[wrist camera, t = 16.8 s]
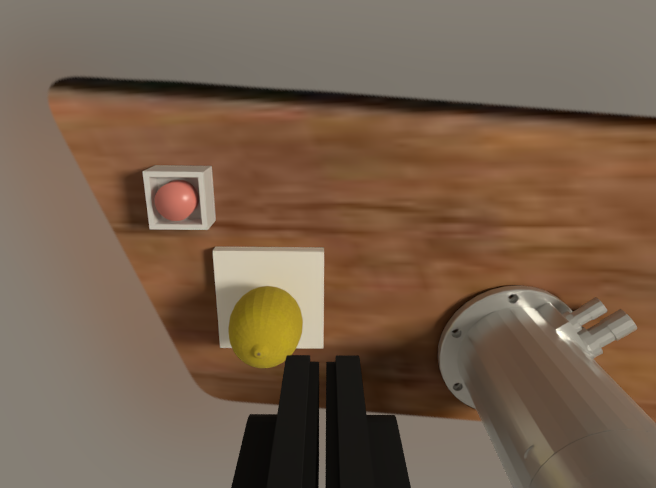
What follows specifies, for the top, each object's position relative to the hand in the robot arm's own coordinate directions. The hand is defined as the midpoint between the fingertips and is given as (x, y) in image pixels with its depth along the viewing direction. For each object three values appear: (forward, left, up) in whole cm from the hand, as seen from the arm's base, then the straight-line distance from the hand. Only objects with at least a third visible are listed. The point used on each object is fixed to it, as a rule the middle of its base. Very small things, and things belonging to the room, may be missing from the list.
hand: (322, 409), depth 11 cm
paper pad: (+10, +5, -27) cm, 29 cm away
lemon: (+10, +5, -26) cm, 29 cm away
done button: (+10, -6, -26) cm, 28 cm away
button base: (+10, -6, -27) cm, 29 cm away
